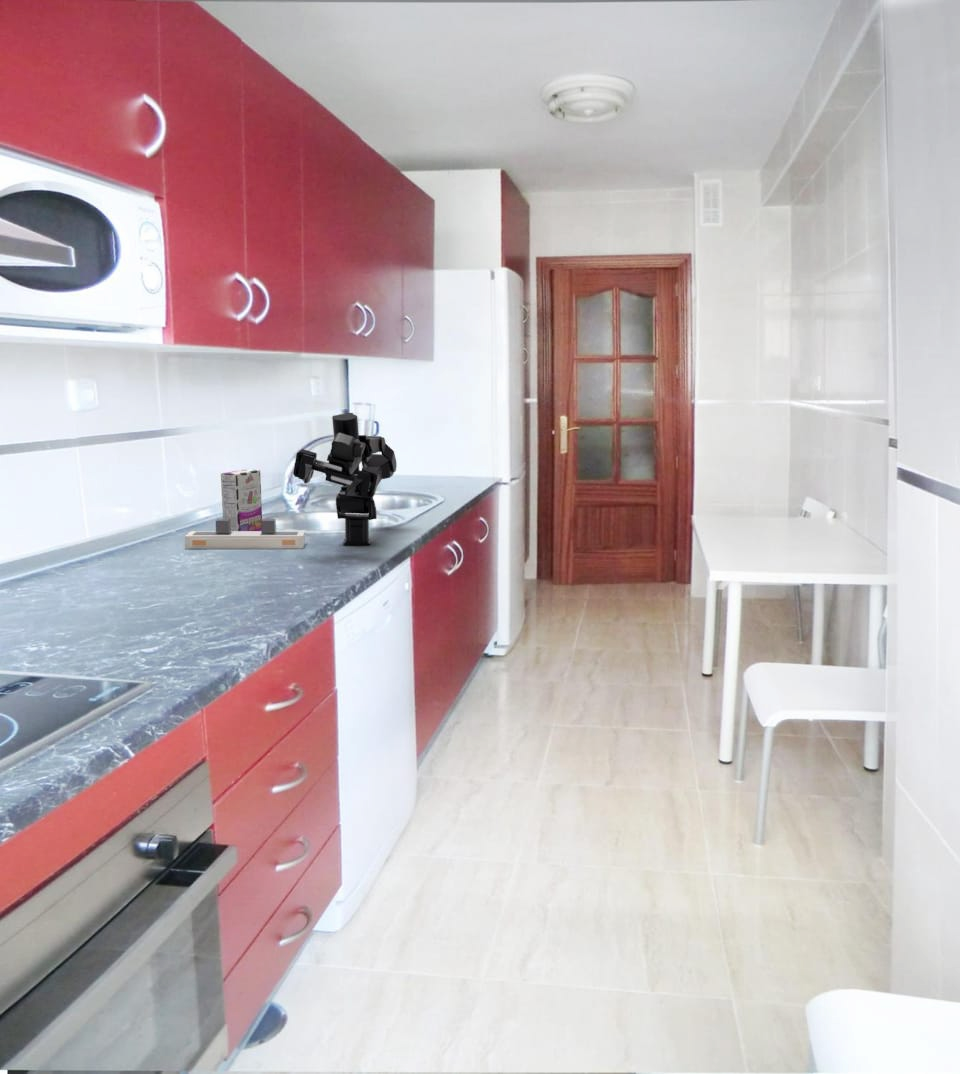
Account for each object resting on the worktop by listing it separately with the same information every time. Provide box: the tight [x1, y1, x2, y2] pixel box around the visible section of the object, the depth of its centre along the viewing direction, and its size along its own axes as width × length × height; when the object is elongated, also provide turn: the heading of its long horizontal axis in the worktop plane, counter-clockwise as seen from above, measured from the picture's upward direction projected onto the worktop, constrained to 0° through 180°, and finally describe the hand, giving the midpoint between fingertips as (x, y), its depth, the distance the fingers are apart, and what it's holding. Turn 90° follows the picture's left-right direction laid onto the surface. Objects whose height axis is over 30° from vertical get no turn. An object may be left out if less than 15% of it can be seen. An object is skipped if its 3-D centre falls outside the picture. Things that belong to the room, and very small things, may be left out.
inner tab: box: [261, 518, 277, 533], centre depth 220 cm, size 3×3×3 cm
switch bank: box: [184, 530, 306, 550], centre depth 220 cm, size 7×27×3 cm, turn 96°
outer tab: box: [215, 518, 231, 533], centre depth 219 cm, size 3×3×3 cm
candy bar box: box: [220, 468, 263, 531], centre depth 234 cm, size 11×5×16 cm, turn 162°
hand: (325, 487), depth 199 cm, fingers open, 9 cm apart
